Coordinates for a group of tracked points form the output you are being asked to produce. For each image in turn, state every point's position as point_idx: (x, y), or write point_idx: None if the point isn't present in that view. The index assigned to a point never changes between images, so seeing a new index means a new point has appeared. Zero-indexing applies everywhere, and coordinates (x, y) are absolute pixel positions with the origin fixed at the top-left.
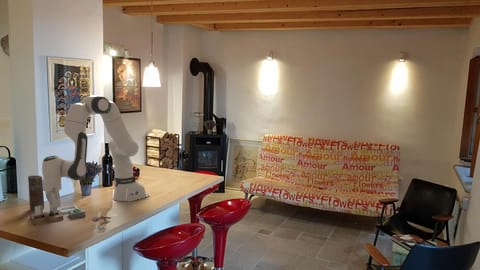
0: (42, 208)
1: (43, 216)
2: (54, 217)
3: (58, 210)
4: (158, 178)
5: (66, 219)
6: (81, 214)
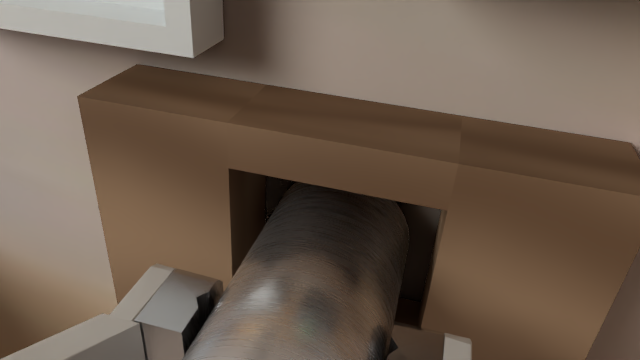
0: None
1: None
2: (567, 353)
3: (125, 114)
4: None
5: (624, 64)
6: None
